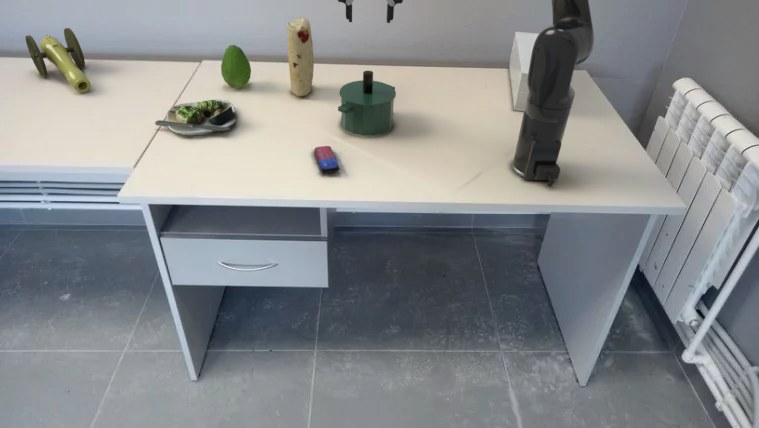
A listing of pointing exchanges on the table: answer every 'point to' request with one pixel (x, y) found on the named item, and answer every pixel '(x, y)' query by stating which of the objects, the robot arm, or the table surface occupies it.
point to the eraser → (326, 159)
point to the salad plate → (200, 117)
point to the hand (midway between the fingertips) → (369, 21)
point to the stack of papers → (521, 67)
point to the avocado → (235, 67)
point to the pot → (366, 118)
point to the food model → (300, 56)
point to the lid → (367, 92)
